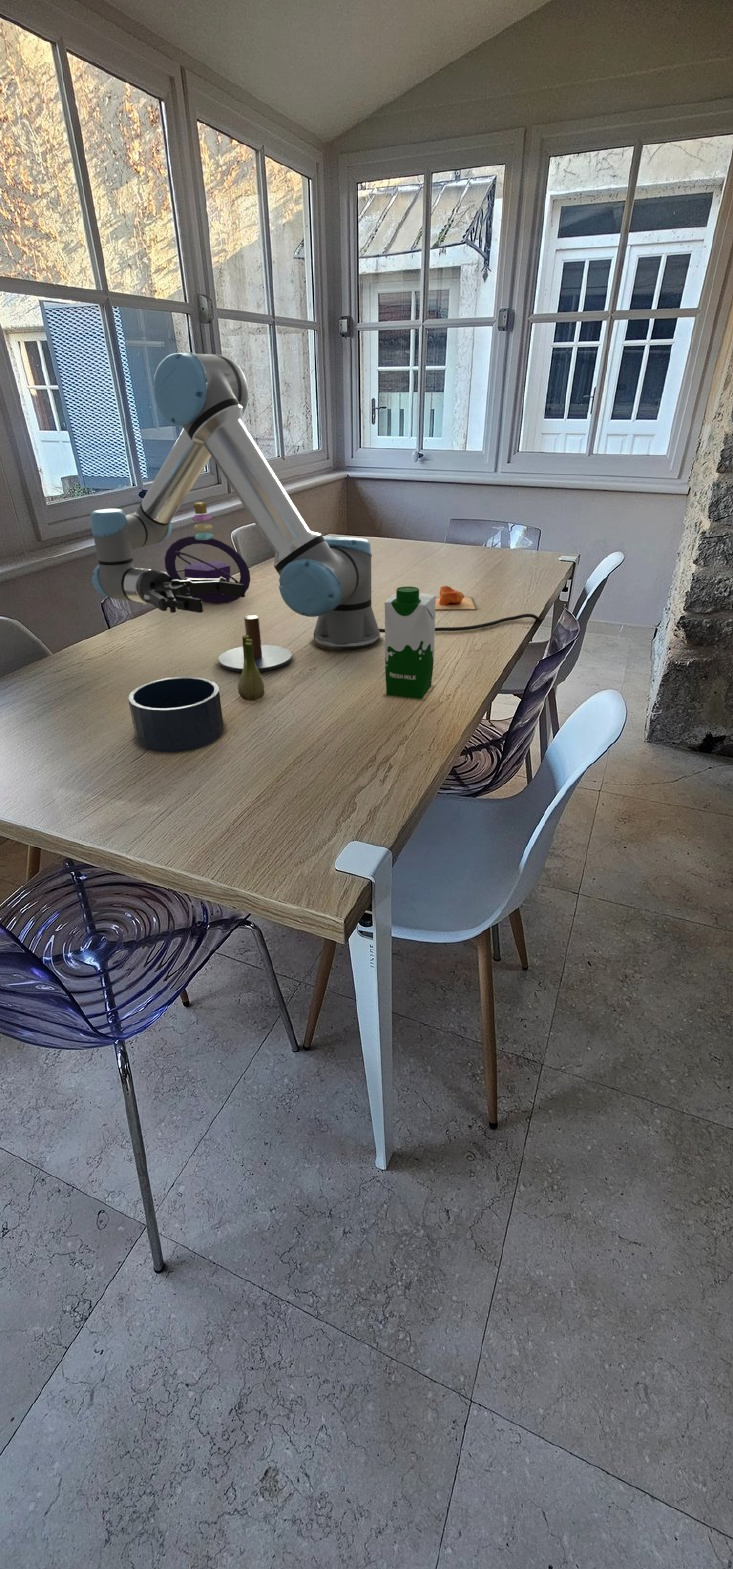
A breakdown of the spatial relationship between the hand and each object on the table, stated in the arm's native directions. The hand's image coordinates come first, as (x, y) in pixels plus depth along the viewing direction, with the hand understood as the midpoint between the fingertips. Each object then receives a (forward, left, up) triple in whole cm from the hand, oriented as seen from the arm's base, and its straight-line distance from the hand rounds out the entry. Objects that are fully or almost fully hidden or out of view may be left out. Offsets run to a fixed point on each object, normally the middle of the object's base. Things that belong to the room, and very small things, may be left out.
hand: (223, 598), depth 147 cm
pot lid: (-6, +4, -12) cm, 14 cm away
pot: (+1, +39, -13) cm, 41 cm away
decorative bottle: (+14, -52, -13) cm, 55 cm away
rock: (-53, -41, -13) cm, 68 cm away
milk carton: (-39, +21, -13) cm, 46 cm away
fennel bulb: (-9, +24, -13) cm, 29 cm away
